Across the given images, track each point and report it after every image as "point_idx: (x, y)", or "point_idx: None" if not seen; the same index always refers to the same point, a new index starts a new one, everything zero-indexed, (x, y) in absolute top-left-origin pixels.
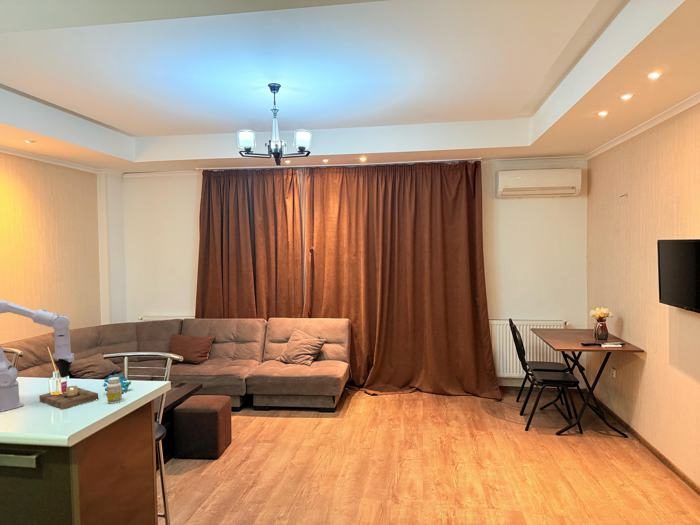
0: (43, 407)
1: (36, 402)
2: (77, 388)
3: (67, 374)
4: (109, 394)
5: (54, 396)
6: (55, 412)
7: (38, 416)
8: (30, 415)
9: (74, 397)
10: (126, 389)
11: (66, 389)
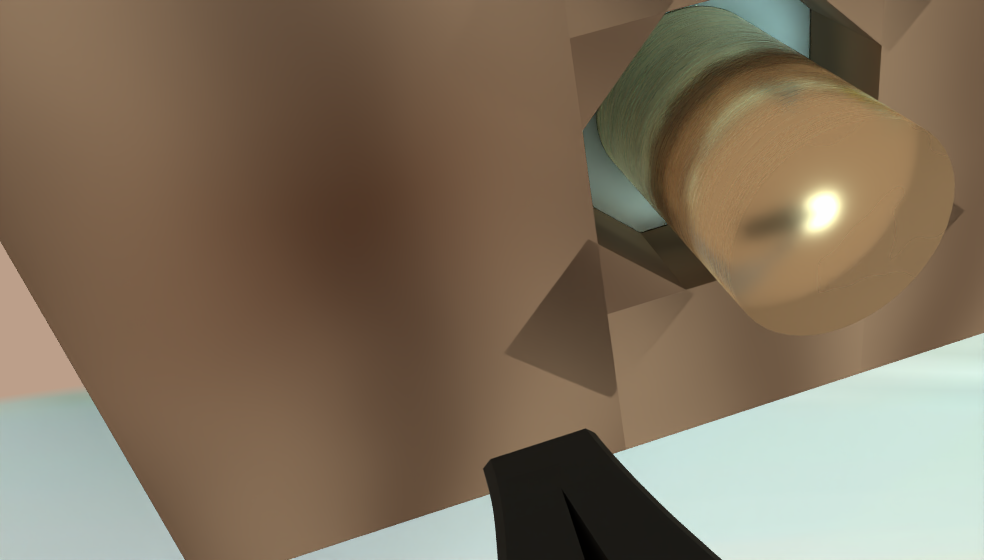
0: None
1: None
2: (879, 102)
3: (627, 482)
4: None
5: (501, 399)
6: (958, 348)
7: (909, 489)
8: (792, 552)
9: None
10: None
11: (814, 320)
